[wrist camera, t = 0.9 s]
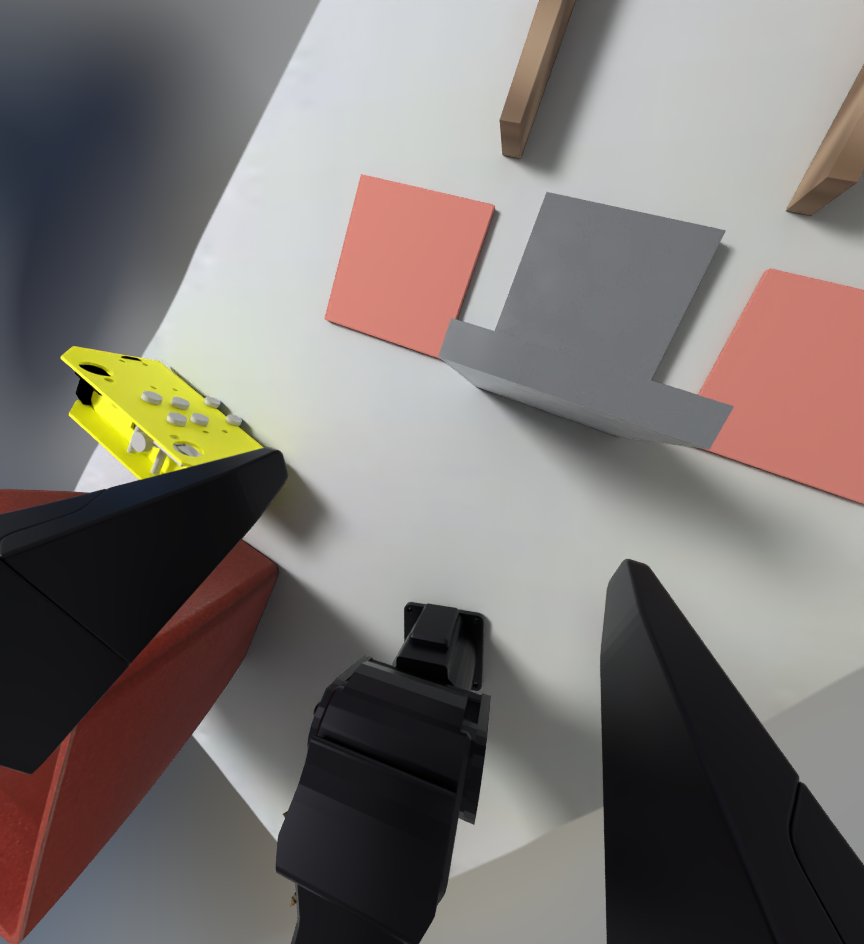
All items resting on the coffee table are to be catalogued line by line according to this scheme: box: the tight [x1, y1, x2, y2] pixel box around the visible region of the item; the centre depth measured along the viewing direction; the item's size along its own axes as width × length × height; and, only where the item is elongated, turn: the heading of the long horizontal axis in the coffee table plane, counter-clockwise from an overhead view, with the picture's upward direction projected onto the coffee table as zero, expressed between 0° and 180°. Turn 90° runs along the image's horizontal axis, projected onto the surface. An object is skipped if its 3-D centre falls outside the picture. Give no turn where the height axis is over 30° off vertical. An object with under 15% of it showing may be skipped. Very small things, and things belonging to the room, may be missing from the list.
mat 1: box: [325, 174, 495, 360], centre depth 23 cm, size 10×10×1 cm
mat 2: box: [698, 269, 864, 504], centre depth 18 cm, size 10×10×1 cm
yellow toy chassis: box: [61, 346, 264, 480], centre depth 26 cm, size 16×6×8 cm, turn 55°
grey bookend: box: [438, 192, 734, 449], centre depth 16 cm, size 12×10×11 cm
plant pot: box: [0, 489, 278, 944], centre depth 25 cm, size 19×19×17 cm
